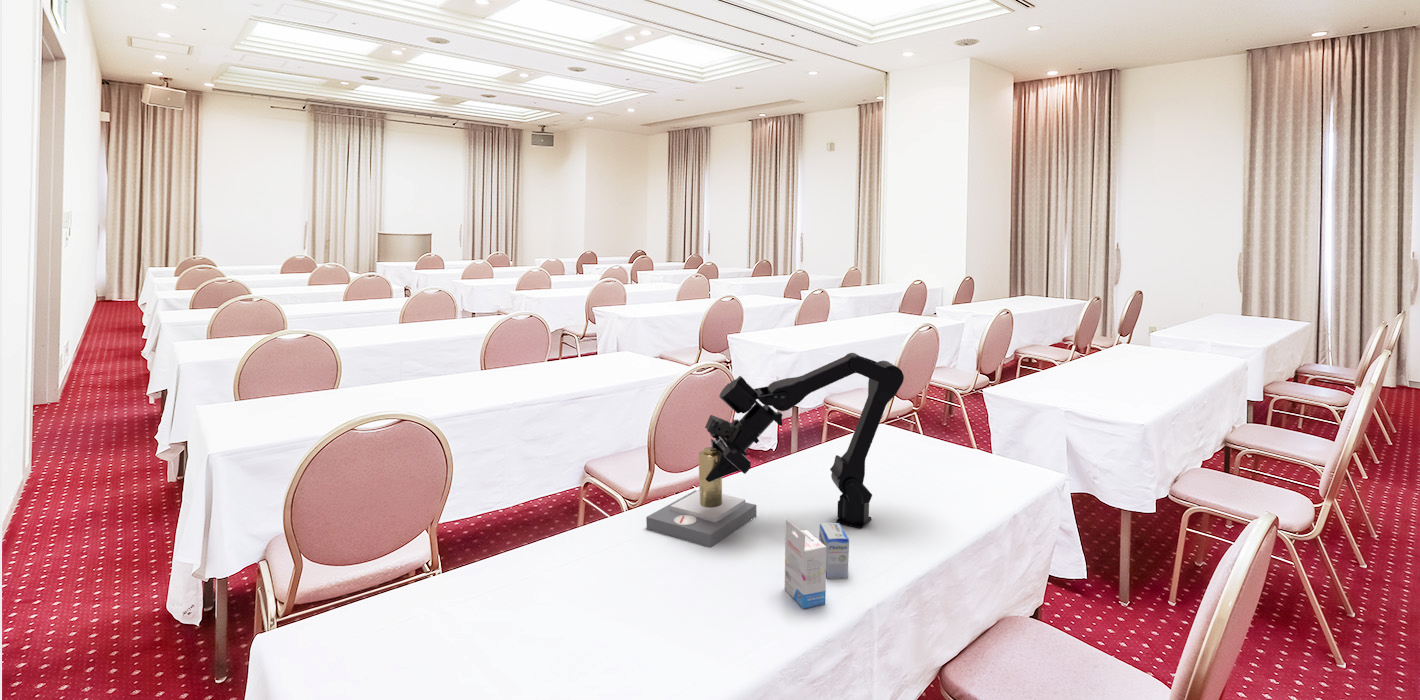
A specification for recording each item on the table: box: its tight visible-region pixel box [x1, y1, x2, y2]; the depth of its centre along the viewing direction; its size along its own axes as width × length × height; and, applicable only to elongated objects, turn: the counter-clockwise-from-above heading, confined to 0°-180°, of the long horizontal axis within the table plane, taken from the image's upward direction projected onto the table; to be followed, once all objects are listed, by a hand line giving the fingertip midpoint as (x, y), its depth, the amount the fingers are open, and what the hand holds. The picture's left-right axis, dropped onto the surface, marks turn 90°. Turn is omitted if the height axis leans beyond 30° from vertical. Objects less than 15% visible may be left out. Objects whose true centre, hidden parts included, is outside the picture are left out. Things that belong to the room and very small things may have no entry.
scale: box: [645, 489, 757, 548], centre depth 177 cm, size 18×20×4 cm
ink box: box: [784, 518, 827, 610], centre depth 142 cm, size 8×5×15 cm, turn 20°
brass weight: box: [698, 446, 723, 508], centre depth 171 cm, size 5×5×13 cm
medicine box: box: [818, 522, 850, 580], centre depth 153 cm, size 8×4×9 cm, turn 5°
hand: (704, 476), depth 171 cm, fingers closed on brass weight, 5 cm apart
